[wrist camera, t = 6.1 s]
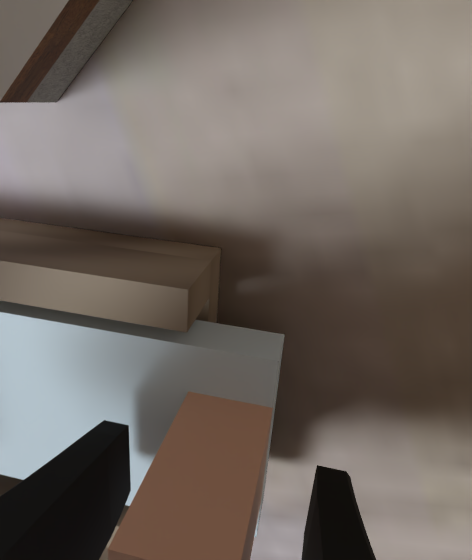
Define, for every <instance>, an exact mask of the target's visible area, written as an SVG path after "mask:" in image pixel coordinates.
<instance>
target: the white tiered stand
mask: <svg viewBox="0 0 472 560" xmlns="http://www.w3.org/2000/svg"><path fill="white" fill-rule="evenodd" d="M132 1H133V0H0V102H57V101H58V99H59V98H60V97H61V95H62V94H63V93H64V91H65V90H66V89H67V87H68V86H69V85H70V83H71V82H72V81H73V79H74V78H75V77H76V75H77V74H78V73H79V71H80V70H81V69H82V67H83V66H84V65H85V63H86V62H87V61H88V59H89V58H90V57H91V55H92V54H93V53H94V51H95V50H96V49H97V47H98V46H99V45H100V43H101V42H102V41H103V39H104V38H105V37H106V35H107V34H108V33H109V31H110V30H111V29H112V27H113V26H114V25H115V23H116V22H117V21H118V19H119V18H120V17H121V15H122V14H123V13H124V12H125V10H126V9H127V8H128V6H129V5H130V4H131V2H132Z"/></svg>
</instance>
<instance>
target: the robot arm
mask: <svg viewBox="0 0 472 560" xmlns="http://www.w3.org/2000/svg"><path fill="white" fill-rule="evenodd" d="M130 491H131V482H130V450H129V425H125V424H120V423H116V422H111V421H106V420H104V421H102V422H101V423H99V424H98V425H97V426H95V427H94V428H93V429H91V430H90V431H89V432H87V433H86V434H85V435H83V436H82V437H81V438H79V439H78V440H77V441H75V442H74V443H73V444H72V445H70V446H69V447H68V448H66V449H65V450H64V451H62V452H61V453H60V454H58V455H57V456H56V457H54V458H53V459H52V460H50V461H49V462H48V463H46V464H45V465H43V466H42V467H41V468H39V469H38V470H37V471H35V472H34V473H32V474H31V475H30V476H28V477H27V478H26V479H24V480H23V481H21V482H20V483H19V484H17V485H16V486H14V487H13V488H12V489H10V490H9V491H7V492H6V493H4V494H3V495H1V496H0V560H99V559H100V557H101V555H102V553H103V551H104V549H105V548H106V546H107V544H108V542H109V540H110V538H111V536H112V534H113V532H114V530H115V527H116V525H117V523H118V520H119V518H120V516H121V513H122V511H123V508H124V506H125V504H126V501H127V499H128V496H129V494H130ZM302 560H376V558H375V555H374V553H373V550H372V547H371V545H370V542H369V539H368V536H367V533H366V530H365V527H364V524H363V521H362V518H361V515H360V512H359V509H358V505H357V502H356V498H355V495H354V491H353V487H352V483H351V478H350V476H349V475H348V473H347V472H346V471H341V470H336V469H332V468H327V467H322V466H318V465H317V468H316V473H315V479H314V484H313V489H312V495H311V500H310V505H309V510H308V516H307V521H306V526H305V532H304V542H303V552H302Z"/></svg>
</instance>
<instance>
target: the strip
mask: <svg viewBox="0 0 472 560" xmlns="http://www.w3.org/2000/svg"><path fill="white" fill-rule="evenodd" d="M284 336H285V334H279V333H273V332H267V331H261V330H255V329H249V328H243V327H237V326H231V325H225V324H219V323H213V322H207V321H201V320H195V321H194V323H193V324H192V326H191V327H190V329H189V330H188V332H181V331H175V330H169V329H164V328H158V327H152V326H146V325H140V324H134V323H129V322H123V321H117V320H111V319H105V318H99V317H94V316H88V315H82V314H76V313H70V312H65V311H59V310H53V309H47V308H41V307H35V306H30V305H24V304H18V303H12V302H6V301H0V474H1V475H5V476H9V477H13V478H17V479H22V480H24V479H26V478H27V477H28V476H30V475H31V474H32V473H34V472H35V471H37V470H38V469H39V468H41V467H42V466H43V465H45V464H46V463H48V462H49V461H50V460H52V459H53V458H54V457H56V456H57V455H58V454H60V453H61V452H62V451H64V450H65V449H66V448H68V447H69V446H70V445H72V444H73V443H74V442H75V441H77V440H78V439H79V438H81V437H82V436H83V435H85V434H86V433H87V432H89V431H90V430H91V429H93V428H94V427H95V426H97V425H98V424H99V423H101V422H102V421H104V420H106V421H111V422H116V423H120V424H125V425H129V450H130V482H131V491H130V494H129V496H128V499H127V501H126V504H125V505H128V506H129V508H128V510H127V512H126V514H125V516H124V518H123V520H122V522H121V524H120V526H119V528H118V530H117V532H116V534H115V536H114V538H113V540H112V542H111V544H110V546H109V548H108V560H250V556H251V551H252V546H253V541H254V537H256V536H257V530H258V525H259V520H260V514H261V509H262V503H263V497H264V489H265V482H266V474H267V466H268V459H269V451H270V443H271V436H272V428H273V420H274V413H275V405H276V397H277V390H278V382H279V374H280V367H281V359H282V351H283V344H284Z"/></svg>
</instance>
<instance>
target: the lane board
mask: <svg viewBox="0 0 472 560" xmlns="http://www.w3.org/2000/svg"><path fill="white" fill-rule="evenodd" d="M220 258H221V248H217V247H210V246H202V245H195V244H188V243H180V242H173V241H166V240H158V239H151V238H144V237H136V236H129V235H122V234H114V233H107V232H100V231H93V230H85V229H78V228H71V227H63V226H56V225H49V224H41V223H34V222H27V221H19V220H12V219H5V218H0V301H6V302H12V303H18V304H24V305H30V306H35V307H41V308H47V309H53V310H59V311H65V312H70V313H76V314H82V315H88V316H94V317H99V318H105V319H111V320H117V321H123V322H129V323H134V324H140V325H146V326H152V327H158V328H164V329H169V330H175V331H181V332H188V330H189V329H190V327H191V326H192V324H193V323H194V321H195V320H201V321H207V322H213V323H217V308H218V292H219V275H220ZM21 481H23V480H22V479H17V478H13V477H9V476H5V475H1V474H0V496H1V495H3V494H4V493H6V492H7V491H9V490H10V489H12V488H13V487H14V486H16V485H17V484H19V483H20V482H21ZM128 508H129V506H128V505H125V506H124V508H123V511H122V513H121V516H120V518H119V520H118V523H117V525H116V527H115V530H114V532H113V534H112V536H111V538H110V540H109V542H108V544H107V546H106V548H105V549H104V551H103V553H102V555H101V557H100V559H99V560H108V548H109V546H110V544H111V542H112V540H113V538H114V536H115V534H116V532H117V530H118V528H119V526H120V524H121V522H122V520H123V518H124V516H125V514H126V512H127V510H128Z"/></svg>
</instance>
